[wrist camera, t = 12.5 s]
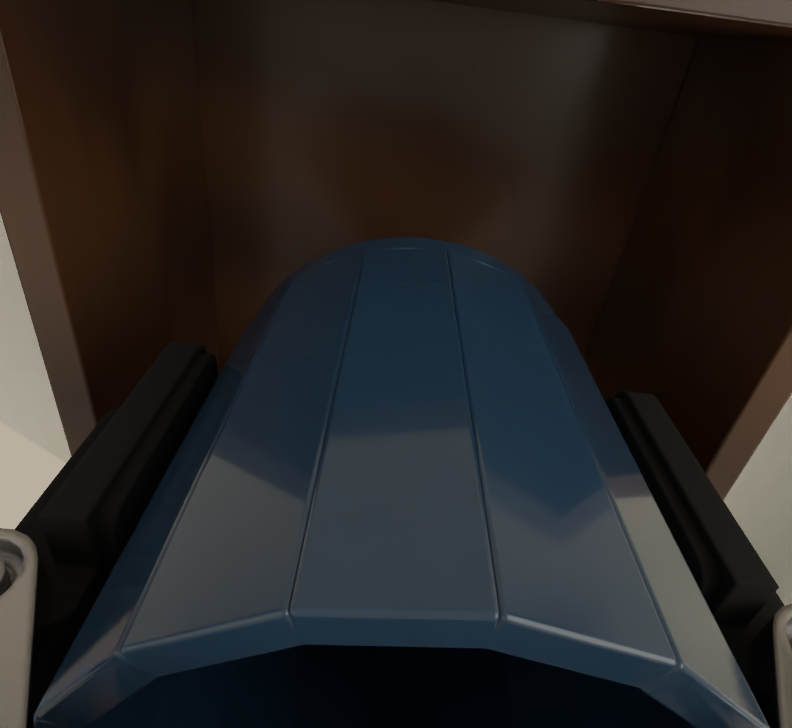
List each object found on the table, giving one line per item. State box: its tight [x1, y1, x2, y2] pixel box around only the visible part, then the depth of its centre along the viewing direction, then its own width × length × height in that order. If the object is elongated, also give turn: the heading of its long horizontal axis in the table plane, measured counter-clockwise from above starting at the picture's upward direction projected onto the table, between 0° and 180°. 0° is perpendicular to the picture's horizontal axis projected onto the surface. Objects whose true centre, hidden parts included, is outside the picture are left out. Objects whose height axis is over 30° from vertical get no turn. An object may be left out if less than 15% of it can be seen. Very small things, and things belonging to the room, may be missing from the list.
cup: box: [33, 237, 770, 728], centre depth 8 cm, size 7×7×7 cm
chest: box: [0, 0, 792, 500], centre depth 15 cm, size 18×15×9 cm
